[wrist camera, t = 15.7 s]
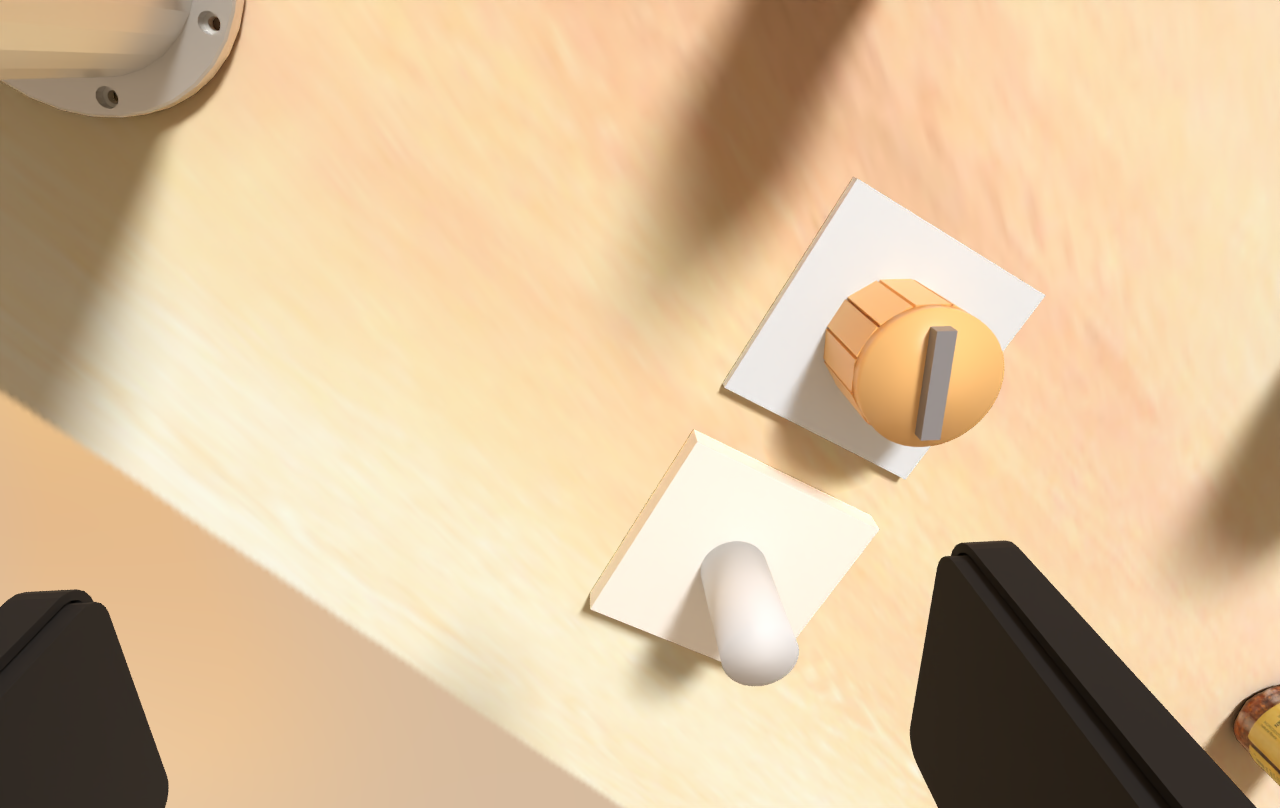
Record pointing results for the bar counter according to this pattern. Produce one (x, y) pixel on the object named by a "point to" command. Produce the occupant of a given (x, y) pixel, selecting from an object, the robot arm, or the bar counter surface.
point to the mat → (830, 272)
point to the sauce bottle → (1262, 730)
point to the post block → (731, 560)
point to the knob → (913, 362)
